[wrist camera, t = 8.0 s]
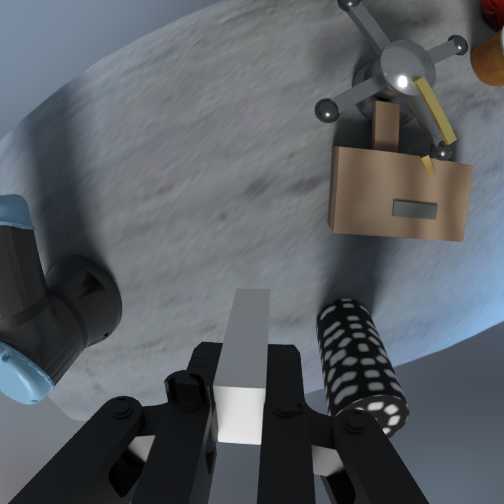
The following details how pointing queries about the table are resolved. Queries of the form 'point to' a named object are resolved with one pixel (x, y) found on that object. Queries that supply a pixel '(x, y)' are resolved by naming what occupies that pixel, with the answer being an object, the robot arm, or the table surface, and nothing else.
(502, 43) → the disposable coffee cup
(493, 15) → the red clay folk toy
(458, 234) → the walnut stand
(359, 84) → the capstan
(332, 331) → the spotted tube
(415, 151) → the table surface
